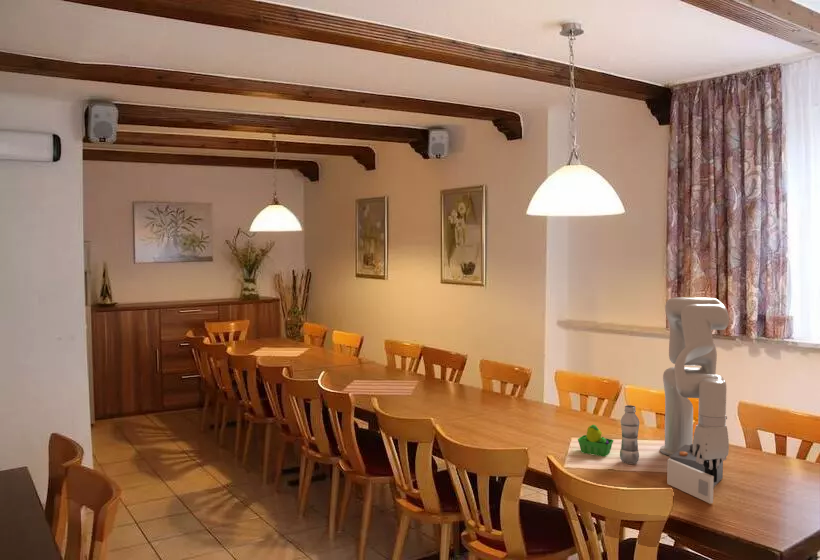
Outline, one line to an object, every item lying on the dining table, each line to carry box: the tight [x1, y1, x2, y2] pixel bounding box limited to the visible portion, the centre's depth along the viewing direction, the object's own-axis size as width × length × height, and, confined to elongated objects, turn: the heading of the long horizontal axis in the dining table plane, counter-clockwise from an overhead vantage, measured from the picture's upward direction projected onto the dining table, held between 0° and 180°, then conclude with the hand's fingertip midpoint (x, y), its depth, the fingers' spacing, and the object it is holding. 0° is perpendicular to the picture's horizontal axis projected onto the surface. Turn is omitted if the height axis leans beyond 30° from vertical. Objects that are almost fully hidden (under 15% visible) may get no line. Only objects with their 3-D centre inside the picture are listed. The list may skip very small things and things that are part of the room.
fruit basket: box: [577, 424, 615, 458], centre depth 255 cm, size 11×9×11 cm
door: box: [666, 458, 714, 504], centre depth 213 cm, size 2×18×8 cm, turn 21°
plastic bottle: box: [619, 404, 640, 465], centre depth 243 cm, size 6×7×20 cm
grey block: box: [669, 444, 724, 488], centre depth 225 cm, size 16×12×11 cm
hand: (710, 480), depth 209 cm, fingers closed
